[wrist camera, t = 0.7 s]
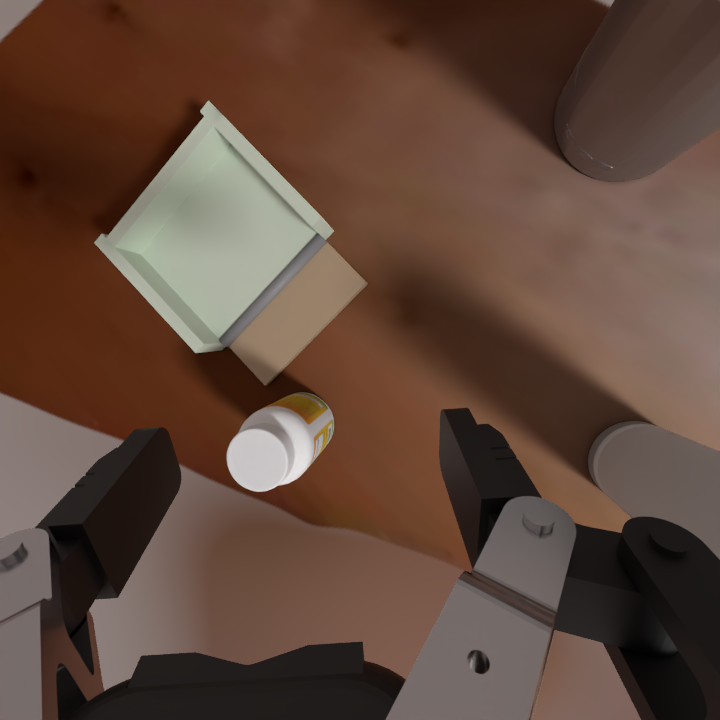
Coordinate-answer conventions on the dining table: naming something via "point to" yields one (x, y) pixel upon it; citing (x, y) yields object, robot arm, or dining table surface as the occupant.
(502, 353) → the dining table surface
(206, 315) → the tray
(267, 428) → the supplement bottle
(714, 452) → the travel mug
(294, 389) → the dining table surface
